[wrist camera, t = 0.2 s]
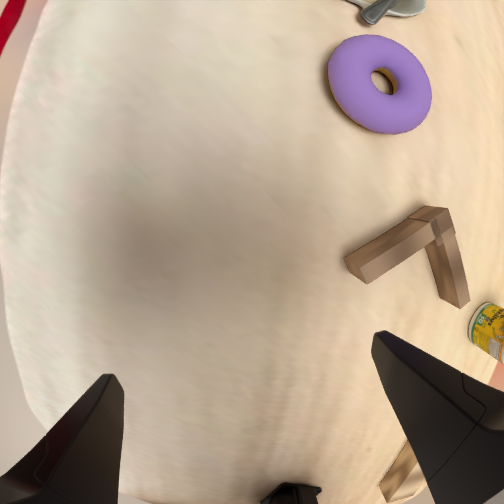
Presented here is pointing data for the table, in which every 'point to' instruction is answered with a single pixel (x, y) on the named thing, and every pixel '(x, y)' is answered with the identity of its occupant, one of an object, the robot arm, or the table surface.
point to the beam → (402, 476)
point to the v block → (409, 242)
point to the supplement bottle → (488, 330)
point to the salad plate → (388, 8)
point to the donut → (368, 96)
